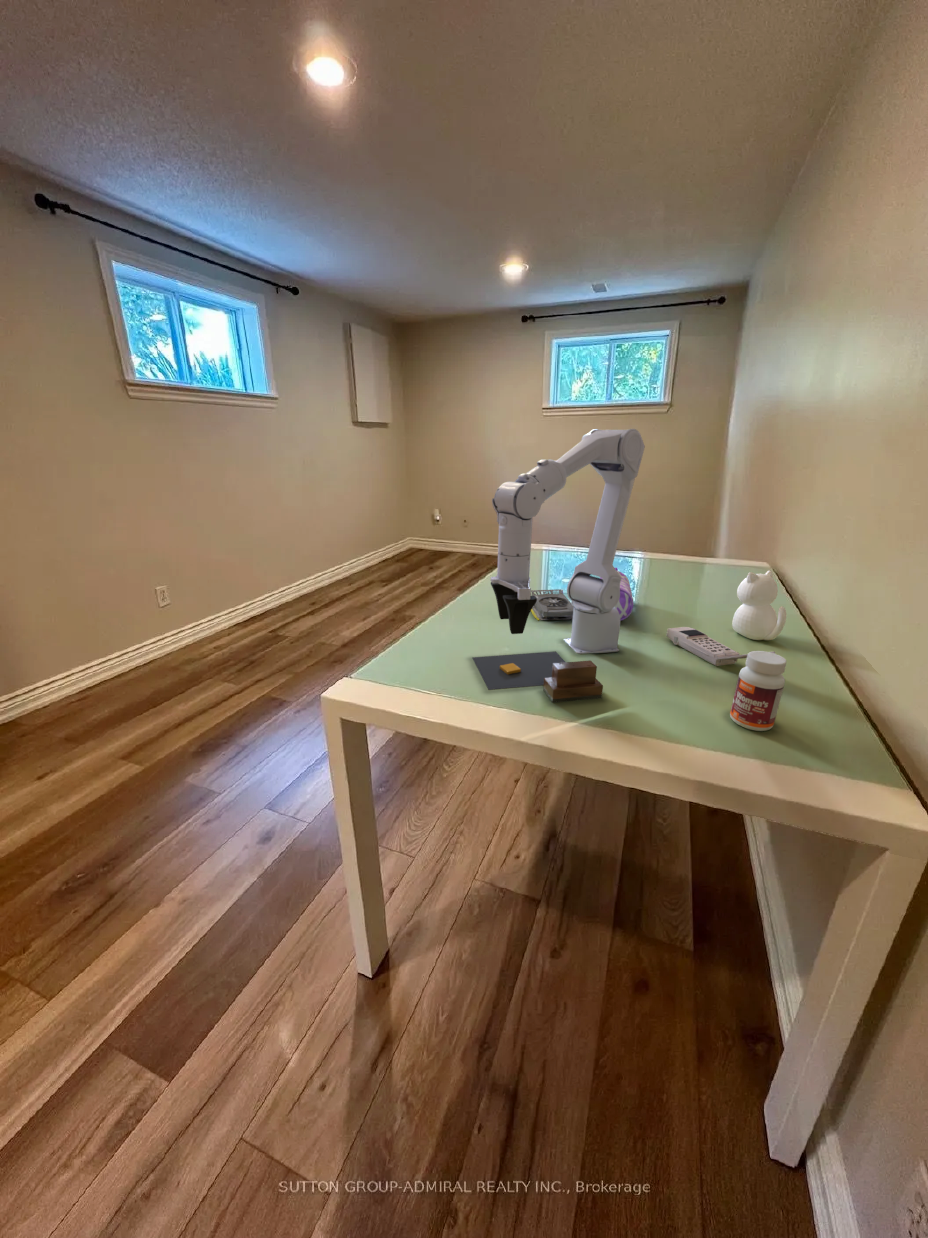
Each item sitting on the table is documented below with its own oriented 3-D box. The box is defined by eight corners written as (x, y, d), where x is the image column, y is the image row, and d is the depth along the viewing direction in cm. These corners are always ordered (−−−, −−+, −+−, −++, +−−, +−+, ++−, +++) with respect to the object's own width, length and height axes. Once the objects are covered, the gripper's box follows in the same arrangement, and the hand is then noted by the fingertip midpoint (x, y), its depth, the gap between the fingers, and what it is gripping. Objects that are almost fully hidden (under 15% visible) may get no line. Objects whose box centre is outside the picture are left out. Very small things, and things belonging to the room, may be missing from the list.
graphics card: (520, 589, 135) (563, 588, 135) (519, 602, 136) (562, 600, 137) (532, 610, 119) (581, 608, 120) (532, 624, 120) (580, 622, 121)
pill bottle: (725, 722, 78) (739, 657, 74) (734, 707, 82) (748, 645, 78) (769, 737, 74) (786, 669, 70) (776, 720, 79) (793, 656, 75)
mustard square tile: (512, 665, 96) (512, 662, 96) (521, 671, 93) (521, 668, 93) (499, 668, 95) (499, 665, 94) (507, 674, 92) (507, 671, 92)
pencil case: (594, 596, 141) (597, 564, 137) (627, 599, 139) (632, 567, 135) (595, 622, 120) (599, 585, 117) (634, 626, 118) (640, 588, 115)
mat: (555, 653, 103) (555, 651, 103) (583, 683, 90) (583, 681, 90) (472, 659, 99) (472, 657, 99) (488, 691, 87) (488, 689, 86)
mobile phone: (752, 655, 88) (661, 611, 110) (745, 685, 90) (657, 635, 112) (778, 652, 90) (683, 609, 112) (770, 681, 92) (678, 633, 114)
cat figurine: (746, 625, 120) (759, 565, 115) (794, 644, 109) (811, 578, 104) (718, 629, 117) (730, 568, 112) (764, 649, 106) (781, 582, 101)
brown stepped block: (590, 687, 88) (593, 657, 86) (601, 700, 84) (605, 668, 82) (542, 692, 87) (545, 661, 85) (552, 704, 83) (554, 672, 81)
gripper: (482, 545, 92) (481, 613, 96) (502, 563, 78) (499, 641, 83) (519, 544, 93) (515, 611, 98) (544, 562, 80) (539, 639, 84)
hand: (510, 625), depth 90 cm, fingers open, 7 cm apart
